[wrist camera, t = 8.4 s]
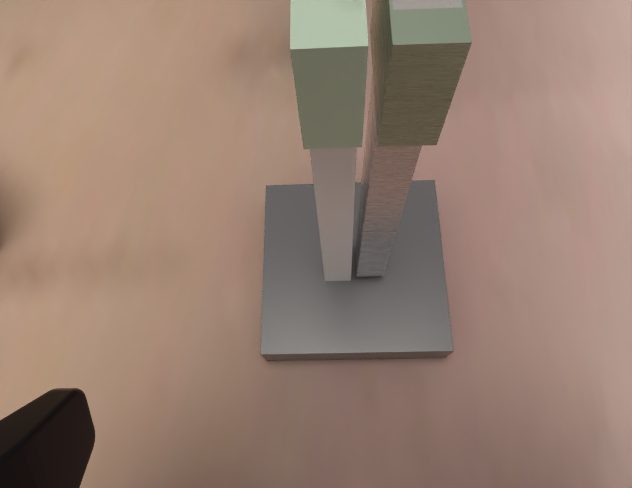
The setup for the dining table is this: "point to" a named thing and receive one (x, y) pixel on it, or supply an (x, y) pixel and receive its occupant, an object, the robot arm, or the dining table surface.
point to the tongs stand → (344, 220)
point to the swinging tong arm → (404, 110)
